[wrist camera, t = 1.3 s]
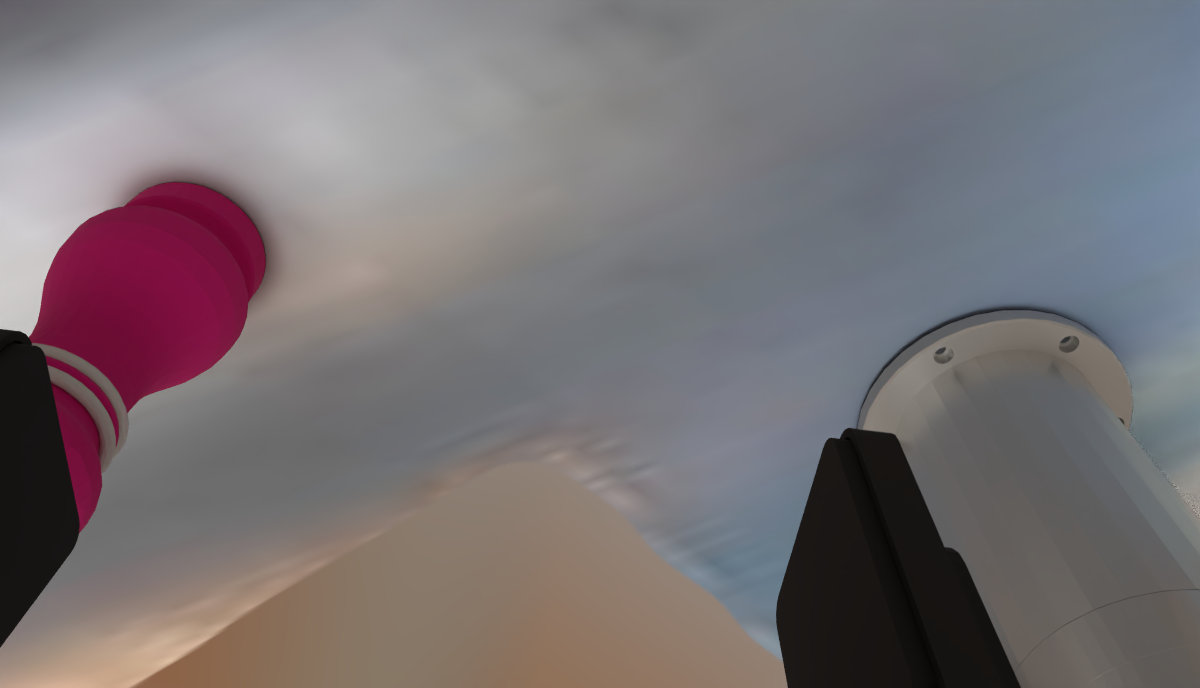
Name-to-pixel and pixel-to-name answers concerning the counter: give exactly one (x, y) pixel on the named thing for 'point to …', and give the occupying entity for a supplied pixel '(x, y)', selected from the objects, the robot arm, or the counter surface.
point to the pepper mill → (141, 313)
